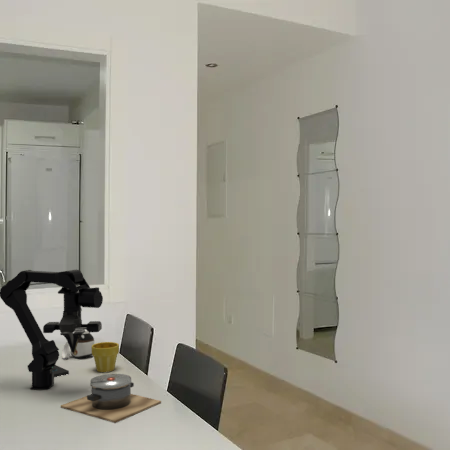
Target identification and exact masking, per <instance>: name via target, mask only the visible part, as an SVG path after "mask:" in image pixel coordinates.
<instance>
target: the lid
mask: <svg viewBox="0 0 450 450" xmlns="http://www.w3.org/2000/svg"><path fill="white" fill-rule="evenodd" d="M89 381H90V388H92V387H93V388H95V389H102V390H110V389H118V388H123V387H126V386H128V385H130V384H131V382H132V376H130V375H128V374H124V373H108V374H101V375H98V376H93V378H91V379H90V380H89Z"/></svg>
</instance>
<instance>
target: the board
mask: <svg viewBox="0 0 450 450" xmlns="http://www.w3.org/2000/svg"><path fill="white" fill-rule="evenodd" d="M160 404H162V400H158V399H154V398H151V397H150V398H149V397H147V396H142V395H137V394H133V393H131V403H130V404H129V405H128V406H126V407H123V408H119V409H114V410H100V409H96V408H94V407H92V401H91V400H87V395H85V396H83V397H80V398H78V399H75V400H72V401H68V402H67V403H66V402H65V403H63V404H61V405H60V408H62V409H64V410H65V409H66V410H69V411H73V412H76V413H78V414H79V413H80V414H82V415H87V416H90V417H93V418H97V419H101V420H105V421H106V422H107V421H108V422H111V423H114V424H116V423H118V422H120V421H123V420H125V419H128V418H130V417H132V416H135V415H136V414H139V413H142V412H144V411H146V410H148V409H151V408H154V407H155V406H158V405H160Z"/></svg>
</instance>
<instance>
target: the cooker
mask: <svg viewBox="0 0 450 450" xmlns="http://www.w3.org/2000/svg"><path fill="white" fill-rule="evenodd" d="M134 386H135V383H134V382H132V381H131V384H130V385H128V386H126V387H123V388H118V389H110V390H102V389H95V388H93V387H91V394H87V395H86V396H87V400H91V401H92V407H94V408H96V409H100V410H114V409H119V408H123V407H126V406H128V405H129V404H130V403H131V394H132V393H131V388H133V387H134Z"/></svg>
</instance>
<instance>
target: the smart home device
mask: <svg viewBox="0 0 450 450" xmlns="http://www.w3.org/2000/svg"><path fill="white" fill-rule="evenodd" d="M51 368H52V372H54V378H58V377H57V376H59V377H62V376H61V375H63V376H67V375H66V374H68V375H69V374H70V372H69V370H67V369H65V368H63V367H60V366H59V365H56V364H55V366H54V367H51Z"/></svg>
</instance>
